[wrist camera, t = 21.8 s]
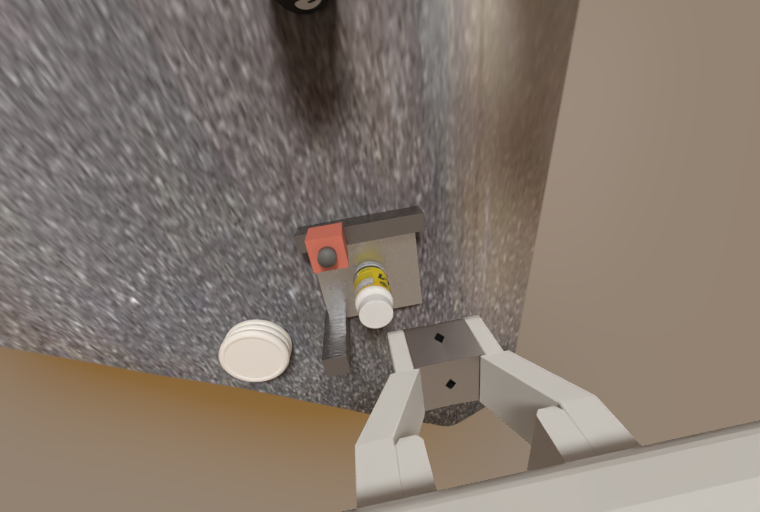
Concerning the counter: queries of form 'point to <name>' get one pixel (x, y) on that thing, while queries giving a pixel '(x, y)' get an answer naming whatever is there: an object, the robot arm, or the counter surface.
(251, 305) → the counter surface
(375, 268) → the supplement bottle
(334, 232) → the handle
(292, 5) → the beverage can
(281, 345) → the coaster
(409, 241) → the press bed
